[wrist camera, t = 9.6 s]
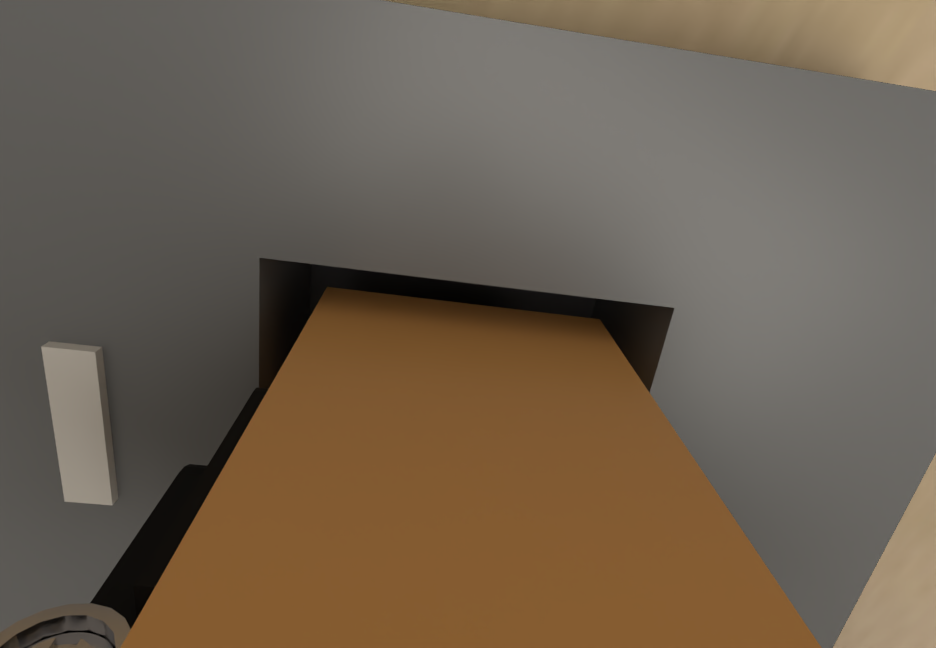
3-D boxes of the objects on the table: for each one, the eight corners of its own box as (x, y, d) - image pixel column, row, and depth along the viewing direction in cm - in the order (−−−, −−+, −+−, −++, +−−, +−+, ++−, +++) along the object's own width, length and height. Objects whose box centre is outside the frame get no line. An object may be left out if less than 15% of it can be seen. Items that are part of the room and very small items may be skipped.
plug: (600, 319, 11) (1210, 1220, 2) (547, 530, 13) (769, 1462, 4) (327, 286, 10) (-231, 1263, 2) (314, 511, 12) (14, 1514, 4)
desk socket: (876, 107, 13) (1128, 121, 8) (698, 572, 18) (790, 745, 14) (40, -26, 11) (-248, -106, 7) (107, 527, 17) (-29, 705, 12)
